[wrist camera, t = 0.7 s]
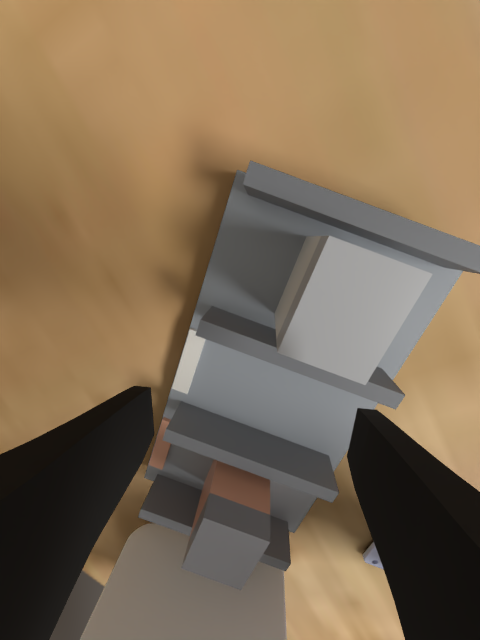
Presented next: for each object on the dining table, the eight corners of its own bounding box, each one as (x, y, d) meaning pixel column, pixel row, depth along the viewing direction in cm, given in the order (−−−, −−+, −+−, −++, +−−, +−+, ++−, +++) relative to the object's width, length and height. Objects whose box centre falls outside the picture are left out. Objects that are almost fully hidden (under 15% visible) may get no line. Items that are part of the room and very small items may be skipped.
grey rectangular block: (370, 260, 15) (432, 274, 9) (332, 334, 17) (365, 385, 11) (306, 236, 15) (329, 235, 9) (274, 313, 16) (277, 352, 11)
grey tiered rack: (459, 255, 15) (522, 261, 11) (293, 521, 23) (297, 575, 20) (239, 173, 15) (229, 152, 11) (149, 468, 23) (125, 512, 19)
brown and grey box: (270, 456, 20) (270, 542, 14) (248, 498, 22) (241, 590, 16) (222, 438, 20) (203, 517, 14) (204, 481, 22) (181, 568, 16)
